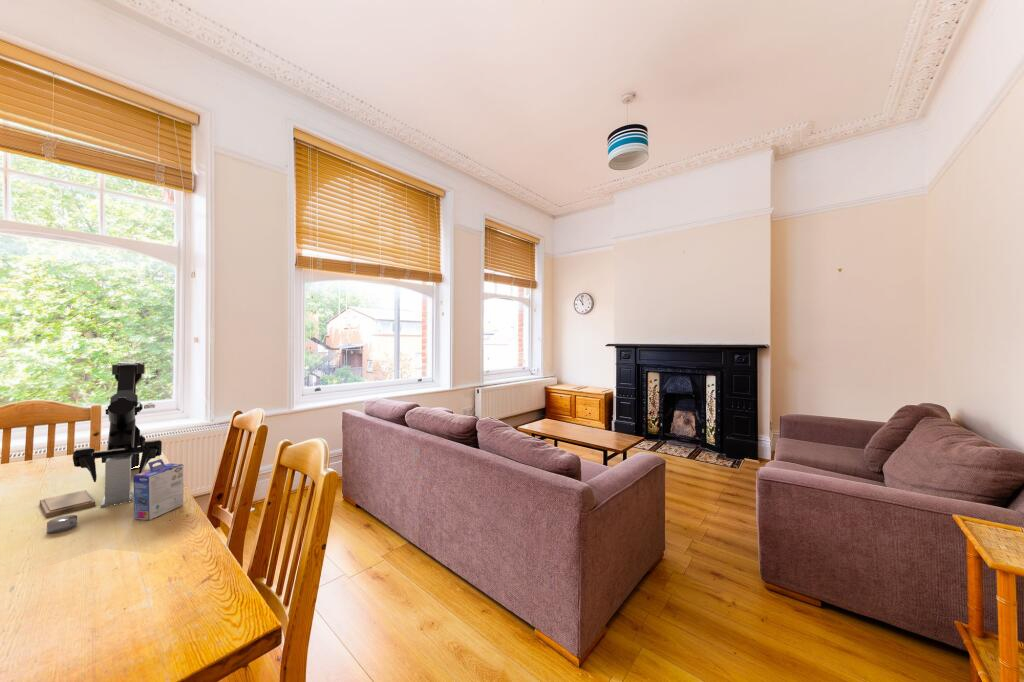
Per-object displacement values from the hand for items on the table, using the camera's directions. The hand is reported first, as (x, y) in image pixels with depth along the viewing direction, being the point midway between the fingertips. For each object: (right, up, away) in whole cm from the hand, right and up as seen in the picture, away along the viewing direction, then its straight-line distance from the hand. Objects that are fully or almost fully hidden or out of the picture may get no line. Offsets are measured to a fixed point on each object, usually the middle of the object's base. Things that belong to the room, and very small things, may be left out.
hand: (117, 477), depth 111 cm
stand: (-12, -7, -3) cm, 14 cm away
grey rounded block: (+1, -8, -15) cm, 17 cm away
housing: (-1, -7, +1) cm, 7 cm away
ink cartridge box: (+17, -8, -5) cm, 19 cm away
